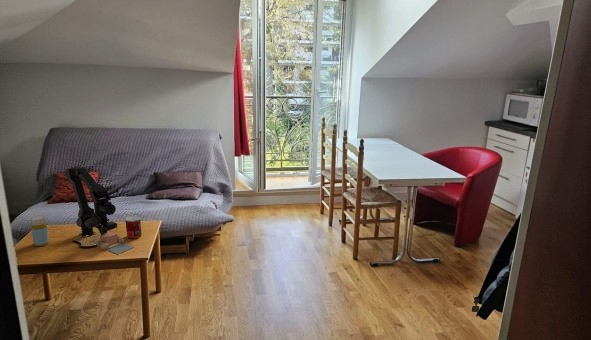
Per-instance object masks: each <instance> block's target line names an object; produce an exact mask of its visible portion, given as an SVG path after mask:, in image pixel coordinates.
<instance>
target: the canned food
mask: <svg viewBox="0 0 591 340" xmlns="http://www.w3.org/2000/svg"><path fill="white" fill-rule="evenodd" d="M125 231H126V237H127V239H130V240H136V239H140V238H141V237H142V223H141V216H138V215H129V216H126V218H125Z"/></svg>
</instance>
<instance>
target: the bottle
mask: <svg viewBox="0 0 591 340" xmlns="http://www.w3.org/2000/svg"><path fill="white" fill-rule="evenodd" d="M30 223H31V226H30V230H31V236H32V241H33V245H34V246H35V247H38V248H39V247H44V246H47V245H48V244H50V243H49V242H50V239H49V230H48V225H47V223H46V218H45V216H44V215H36V216H33V217H31V218H30Z"/></svg>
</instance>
